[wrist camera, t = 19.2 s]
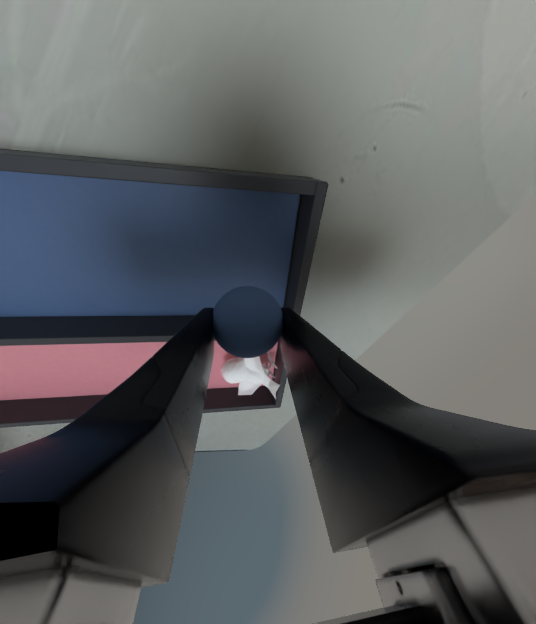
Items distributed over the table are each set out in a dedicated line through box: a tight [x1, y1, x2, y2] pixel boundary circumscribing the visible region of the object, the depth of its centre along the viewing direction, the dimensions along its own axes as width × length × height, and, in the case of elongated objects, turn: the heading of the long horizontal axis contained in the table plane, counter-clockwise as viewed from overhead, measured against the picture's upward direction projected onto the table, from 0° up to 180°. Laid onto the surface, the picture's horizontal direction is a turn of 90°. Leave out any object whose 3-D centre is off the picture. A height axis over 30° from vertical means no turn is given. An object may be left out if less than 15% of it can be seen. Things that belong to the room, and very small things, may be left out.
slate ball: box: [212, 286, 283, 358], centre depth 9 cm, size 3×3×3 cm
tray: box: [0, 149, 328, 428], centre depth 15 cm, size 32×20×3 cm, turn 85°
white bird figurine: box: [221, 351, 280, 399], centre depth 18 cm, size 8×5×5 cm, turn 172°
